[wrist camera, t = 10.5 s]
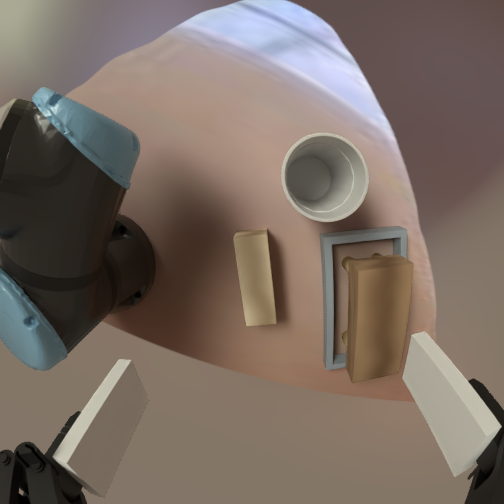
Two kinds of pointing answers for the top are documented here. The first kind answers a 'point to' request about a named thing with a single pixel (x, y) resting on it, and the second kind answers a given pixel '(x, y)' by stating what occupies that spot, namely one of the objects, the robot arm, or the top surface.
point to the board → (377, 315)
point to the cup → (325, 177)
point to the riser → (255, 276)
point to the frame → (327, 272)
